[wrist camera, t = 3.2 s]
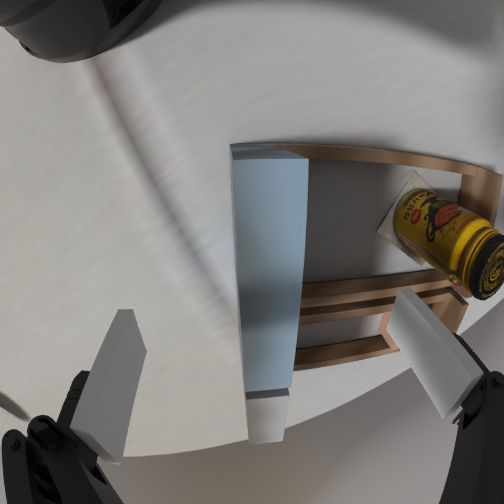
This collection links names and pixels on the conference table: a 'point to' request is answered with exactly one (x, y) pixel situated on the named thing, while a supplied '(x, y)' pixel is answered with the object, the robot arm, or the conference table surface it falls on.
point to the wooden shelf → (293, 246)
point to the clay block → (385, 333)
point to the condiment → (446, 238)
